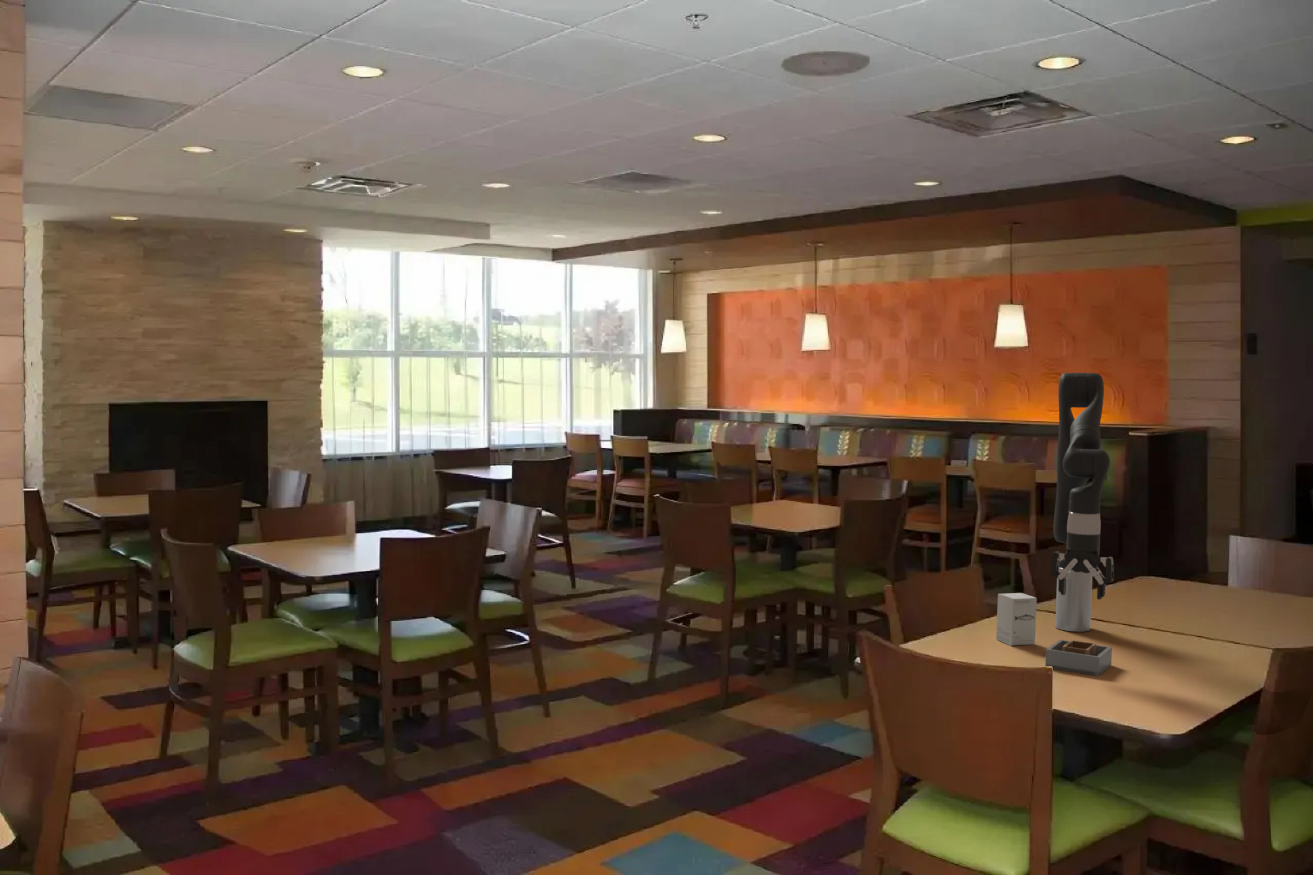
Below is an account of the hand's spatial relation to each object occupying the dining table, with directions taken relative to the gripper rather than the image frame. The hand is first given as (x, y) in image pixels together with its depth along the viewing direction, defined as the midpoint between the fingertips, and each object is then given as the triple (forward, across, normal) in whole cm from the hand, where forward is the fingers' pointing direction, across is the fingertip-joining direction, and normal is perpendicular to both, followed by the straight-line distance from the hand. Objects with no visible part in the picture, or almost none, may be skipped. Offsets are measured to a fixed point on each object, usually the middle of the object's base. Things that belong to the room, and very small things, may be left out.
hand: (1081, 596), depth 271 cm
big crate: (+17, 0, 0) cm, 17 cm away
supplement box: (+18, +20, -15) cm, 30 cm away
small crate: (+16, 0, 0) cm, 16 cm away
